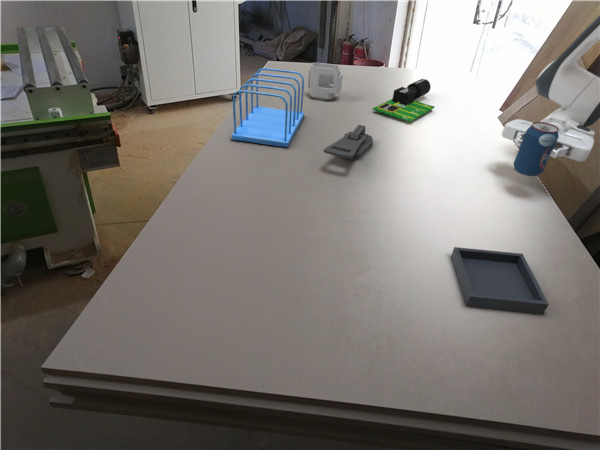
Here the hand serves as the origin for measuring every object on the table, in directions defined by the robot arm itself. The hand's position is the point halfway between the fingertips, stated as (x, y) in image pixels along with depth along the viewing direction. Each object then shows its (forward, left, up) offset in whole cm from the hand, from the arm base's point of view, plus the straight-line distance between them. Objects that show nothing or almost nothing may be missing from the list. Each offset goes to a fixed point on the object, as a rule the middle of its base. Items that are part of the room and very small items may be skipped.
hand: (535, 148), depth 97 cm
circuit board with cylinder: (+21, -56, -13) cm, 61 cm away
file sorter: (+69, -27, -13) cm, 75 cm away
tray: (+16, +35, -13) cm, 40 cm away
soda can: (-1, -1, -7) cm, 7 cm away
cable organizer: (+53, -59, -13) cm, 80 cm away
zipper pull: (+44, -13, -13) cm, 47 cm away
